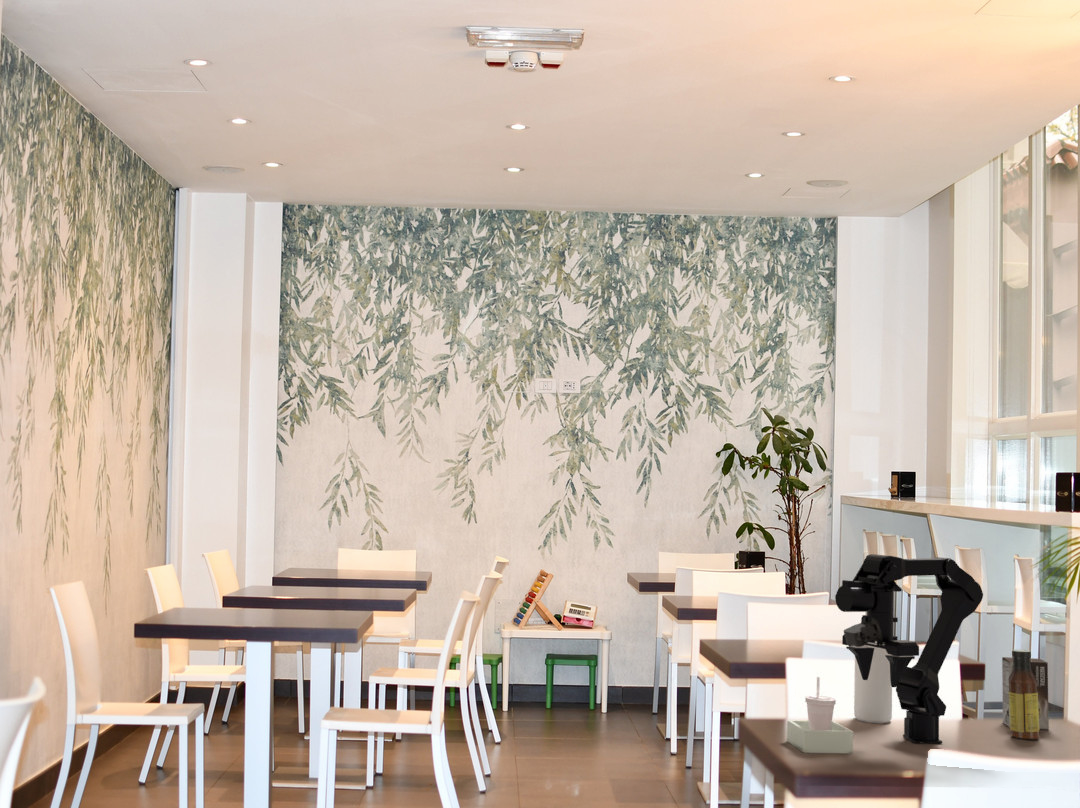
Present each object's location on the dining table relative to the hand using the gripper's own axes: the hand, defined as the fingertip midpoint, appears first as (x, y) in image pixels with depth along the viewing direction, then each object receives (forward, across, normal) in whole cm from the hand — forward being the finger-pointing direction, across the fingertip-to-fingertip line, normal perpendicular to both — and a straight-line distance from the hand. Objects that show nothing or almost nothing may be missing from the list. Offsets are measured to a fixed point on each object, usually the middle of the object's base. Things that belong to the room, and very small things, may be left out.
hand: (879, 683), depth 236 cm
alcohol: (+13, -22, +17) cm, 31 cm away
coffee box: (+13, -7, +51) cm, 54 cm away
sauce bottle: (+13, +3, +40) cm, 42 cm away
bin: (+13, -1, -16) cm, 20 cm away
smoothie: (+13, -1, -15) cm, 20 cm away
